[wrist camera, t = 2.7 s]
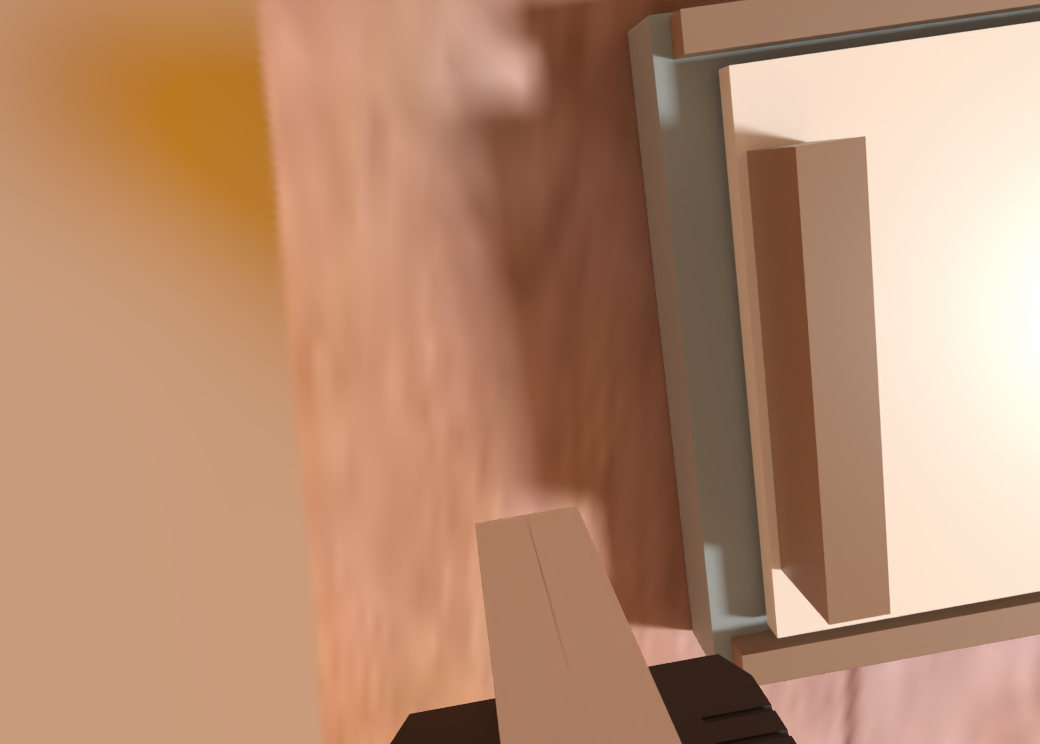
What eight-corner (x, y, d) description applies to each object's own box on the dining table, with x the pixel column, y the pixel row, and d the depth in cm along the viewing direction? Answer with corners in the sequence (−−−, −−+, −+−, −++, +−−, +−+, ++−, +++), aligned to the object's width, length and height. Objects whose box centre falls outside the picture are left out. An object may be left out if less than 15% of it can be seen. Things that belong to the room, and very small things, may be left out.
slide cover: (718, 69, 22) (776, 46, 18) (1146, 8, 22) (1288, -26, 18) (767, 624, 25) (824, 701, 21) (1137, 557, 25) (1255, 622, 22)
